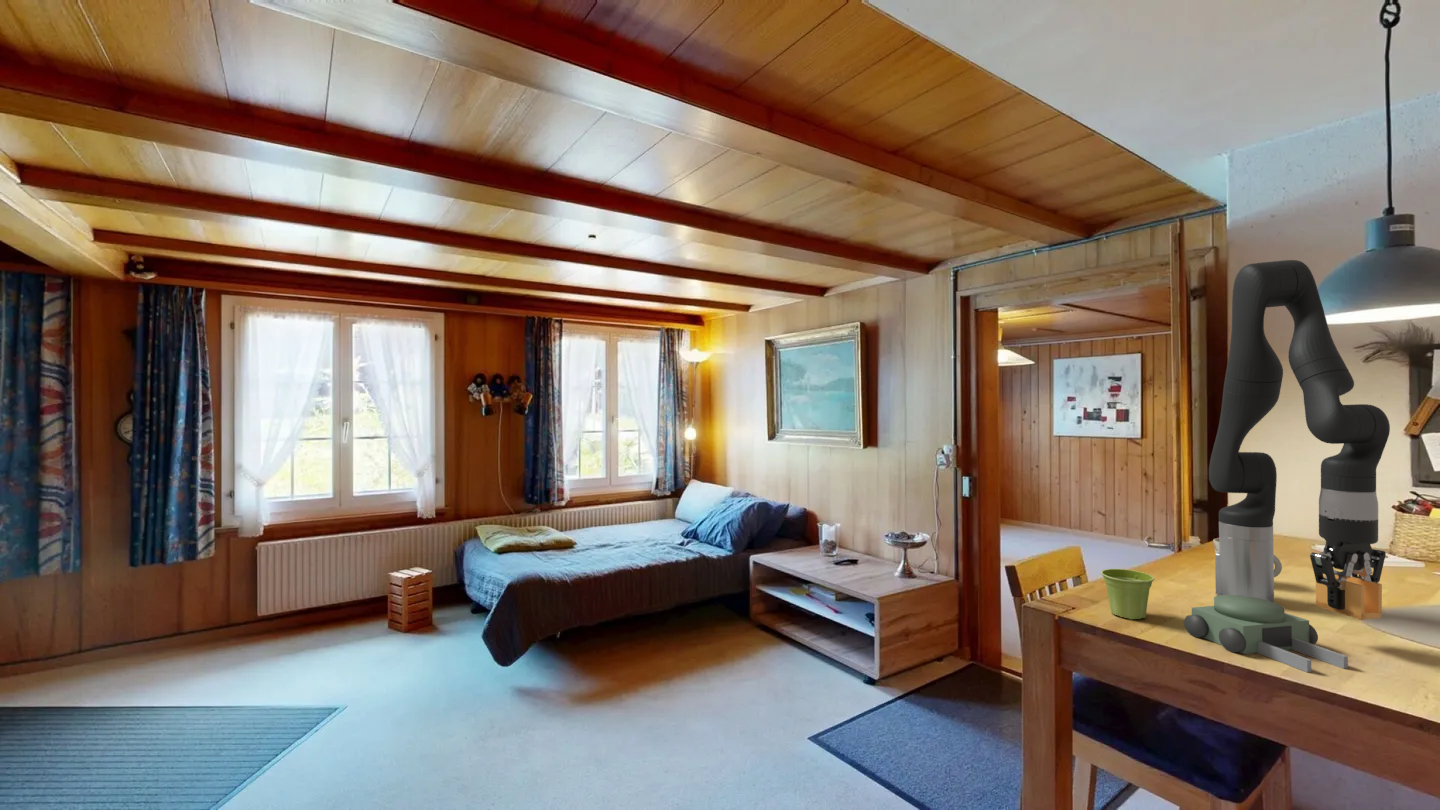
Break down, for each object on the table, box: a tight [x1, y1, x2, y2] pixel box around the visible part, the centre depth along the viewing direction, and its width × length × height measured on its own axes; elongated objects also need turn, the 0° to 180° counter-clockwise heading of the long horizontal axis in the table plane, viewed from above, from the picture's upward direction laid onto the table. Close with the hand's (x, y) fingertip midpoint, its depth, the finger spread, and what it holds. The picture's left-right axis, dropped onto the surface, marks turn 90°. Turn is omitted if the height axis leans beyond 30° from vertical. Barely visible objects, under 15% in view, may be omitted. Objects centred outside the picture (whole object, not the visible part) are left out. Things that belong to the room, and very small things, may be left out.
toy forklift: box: [1183, 594, 1349, 673], centre depth 110 cm, size 18×16×7 cm
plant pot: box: [1100, 568, 1155, 620], centre depth 128 cm, size 9×9×9 cm
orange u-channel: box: [1315, 574, 1383, 621], centre depth 110 cm, size 7×4×6 cm, turn 10°
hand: (1347, 606), depth 110 cm, fingers closed on orange u-channel, 4 cm apart
